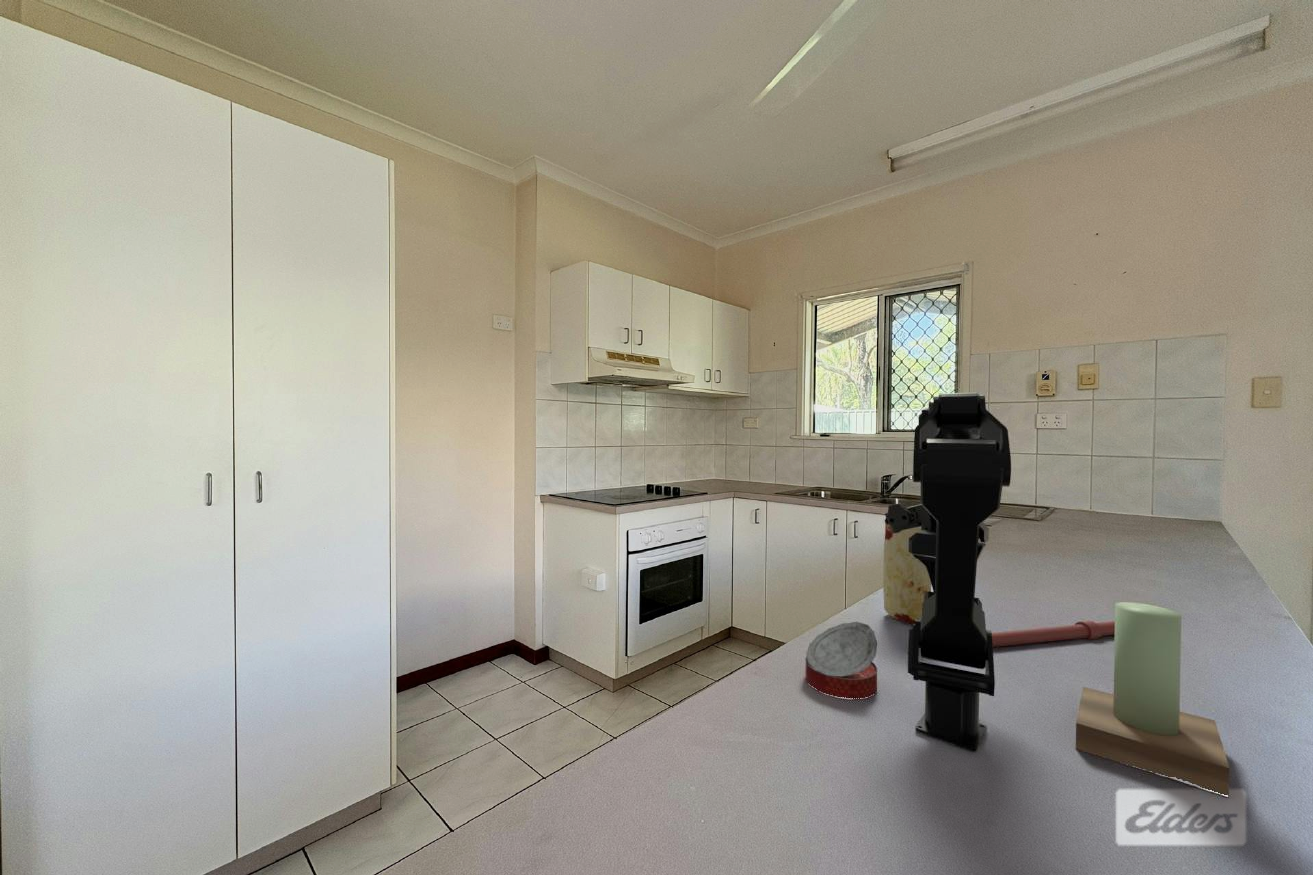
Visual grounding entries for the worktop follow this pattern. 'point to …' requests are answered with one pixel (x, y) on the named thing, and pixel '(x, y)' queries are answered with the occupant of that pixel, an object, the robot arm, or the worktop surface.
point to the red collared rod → (1054, 633)
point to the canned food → (843, 661)
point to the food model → (903, 577)
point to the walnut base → (1154, 744)
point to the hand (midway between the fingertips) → (950, 597)
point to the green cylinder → (1147, 667)
